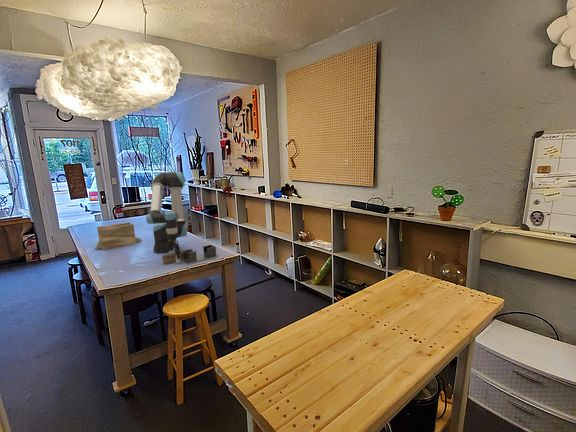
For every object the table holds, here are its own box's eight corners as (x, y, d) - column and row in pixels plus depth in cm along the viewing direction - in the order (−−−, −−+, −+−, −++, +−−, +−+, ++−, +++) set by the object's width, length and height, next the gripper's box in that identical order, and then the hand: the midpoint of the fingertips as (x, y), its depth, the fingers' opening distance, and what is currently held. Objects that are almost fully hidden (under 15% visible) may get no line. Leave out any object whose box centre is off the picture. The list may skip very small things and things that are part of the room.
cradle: (100, 246, 271) (97, 226, 267) (132, 240, 287) (129, 222, 283) (103, 250, 260) (99, 229, 256) (136, 243, 276) (133, 224, 273)
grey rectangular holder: (183, 260, 228) (182, 250, 227) (211, 253, 243) (210, 244, 241) (188, 264, 221) (187, 253, 219) (217, 256, 235) (216, 246, 233)
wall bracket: (129, 261, 279) (94, 249, 261) (128, 260, 282) (94, 247, 264) (141, 239, 282) (108, 225, 264) (140, 238, 286) (108, 225, 268)
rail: (162, 263, 225) (161, 255, 224) (185, 257, 236) (184, 250, 234) (164, 264, 222) (163, 257, 221) (187, 259, 233) (186, 251, 231)
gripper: (161, 231, 231) (164, 257, 236) (173, 237, 213) (176, 266, 217) (171, 229, 236) (174, 255, 240) (183, 235, 217) (186, 263, 222)
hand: (175, 260), depth 229 cm, fingers open, 12 cm apart
